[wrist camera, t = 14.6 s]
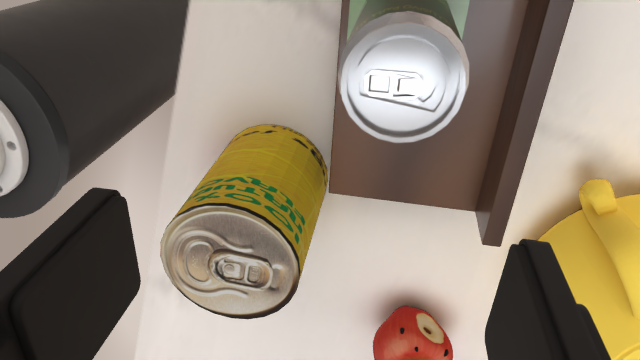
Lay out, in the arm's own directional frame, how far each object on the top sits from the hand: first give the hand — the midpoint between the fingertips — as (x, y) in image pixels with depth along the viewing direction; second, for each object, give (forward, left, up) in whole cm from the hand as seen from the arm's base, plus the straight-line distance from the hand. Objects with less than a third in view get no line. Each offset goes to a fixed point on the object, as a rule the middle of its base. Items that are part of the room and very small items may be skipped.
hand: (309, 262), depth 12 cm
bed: (+4, -2, -25) cm, 26 cm away
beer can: (+2, +1, -22) cm, 22 cm away
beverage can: (-7, -12, -26) cm, 29 cm away
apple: (+6, -27, -26) cm, 37 cm away
